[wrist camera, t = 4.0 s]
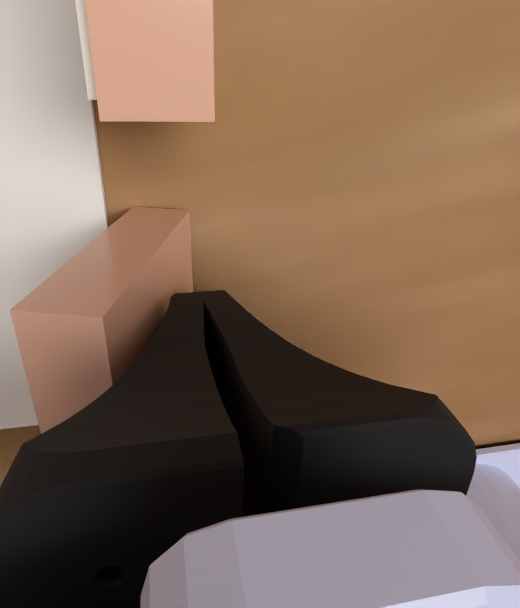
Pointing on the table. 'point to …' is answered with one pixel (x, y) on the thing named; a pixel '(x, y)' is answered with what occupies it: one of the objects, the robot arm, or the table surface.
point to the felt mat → (41, 169)
